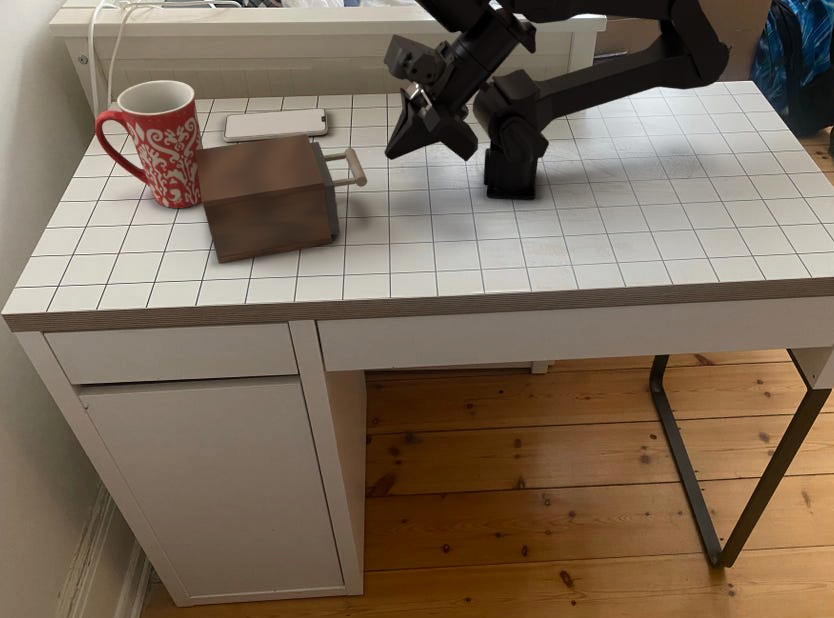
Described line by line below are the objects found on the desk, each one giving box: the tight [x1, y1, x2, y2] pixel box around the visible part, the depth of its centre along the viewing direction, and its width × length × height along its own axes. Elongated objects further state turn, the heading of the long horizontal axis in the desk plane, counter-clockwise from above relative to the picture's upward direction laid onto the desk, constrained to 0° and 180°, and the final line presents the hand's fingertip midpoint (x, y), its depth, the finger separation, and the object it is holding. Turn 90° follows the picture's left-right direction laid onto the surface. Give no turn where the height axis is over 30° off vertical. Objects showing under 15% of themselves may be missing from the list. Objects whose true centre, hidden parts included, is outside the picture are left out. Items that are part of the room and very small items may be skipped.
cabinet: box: [195, 134, 333, 264], centre depth 91 cm, size 14×12×9 cm
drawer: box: [310, 141, 368, 235], centre depth 92 cm, size 17×10×7 cm, turn 107°
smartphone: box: [222, 107, 329, 143], centre depth 112 cm, size 7×1×15 cm
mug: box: [94, 79, 204, 209], centre depth 94 cm, size 13×9×14 cm
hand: (387, 156), depth 92 cm, fingers closed
